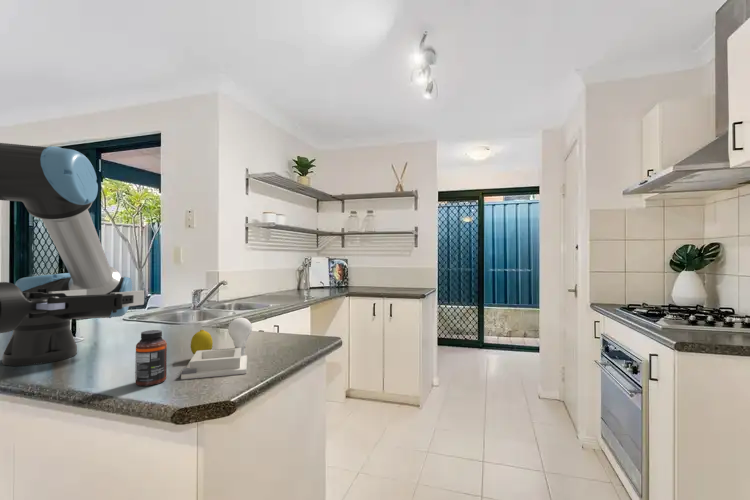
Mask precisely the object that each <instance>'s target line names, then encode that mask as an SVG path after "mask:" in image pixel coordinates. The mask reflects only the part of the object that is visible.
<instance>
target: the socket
mask: <svg viewBox="0 0 750 500" xmlns="http://www.w3.org/2000/svg"><path fill="white" fill-rule="evenodd" d="M247 366H248V354H244V355H242V356H241V348H235V347H233V348H218V349H217V348H216V349H211V350H200V351H196V353H195V354H193V356H192V357H191V359H190V361H189V362H188V364H187V365H186V367H184V368H182V370H181V374H180V380H190V379H191V380H192V379H201V378H203V379H204V378H211V377H212V378H213V377H223V376H234V375H244V374H245V375H246V374H247V368H248V367H247Z"/></svg>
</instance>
